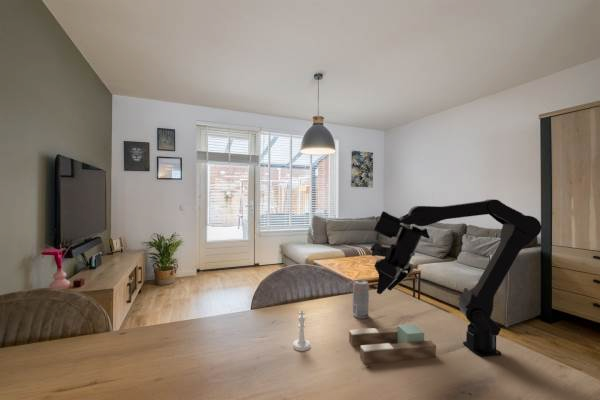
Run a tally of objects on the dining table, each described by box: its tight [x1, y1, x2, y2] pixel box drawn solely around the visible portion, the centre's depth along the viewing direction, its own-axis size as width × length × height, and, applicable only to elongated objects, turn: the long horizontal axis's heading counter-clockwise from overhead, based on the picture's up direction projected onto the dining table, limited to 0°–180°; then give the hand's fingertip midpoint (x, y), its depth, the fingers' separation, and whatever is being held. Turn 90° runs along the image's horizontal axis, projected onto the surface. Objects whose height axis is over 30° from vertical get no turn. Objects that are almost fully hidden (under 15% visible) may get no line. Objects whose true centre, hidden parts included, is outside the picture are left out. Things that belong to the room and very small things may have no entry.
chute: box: [348, 326, 437, 365], centre depth 73 cm, size 20×11×3 cm, turn 100°
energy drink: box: [352, 279, 370, 320], centre depth 94 cm, size 5×5×12 cm
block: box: [396, 323, 425, 344], centre depth 74 cm, size 5×5×5 cm
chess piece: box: [292, 309, 311, 352], centre depth 74 cm, size 5×5×10 cm
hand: (383, 291), depth 81 cm, fingers open, 9 cm apart
